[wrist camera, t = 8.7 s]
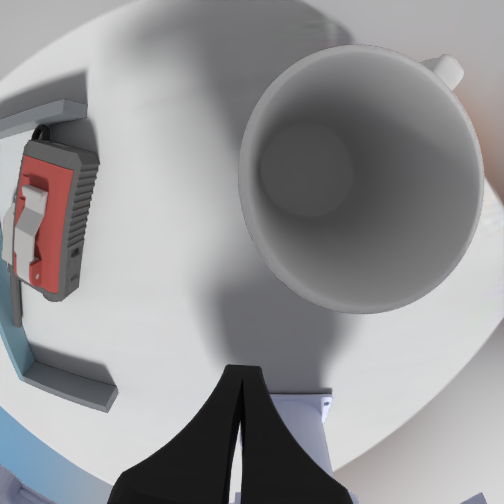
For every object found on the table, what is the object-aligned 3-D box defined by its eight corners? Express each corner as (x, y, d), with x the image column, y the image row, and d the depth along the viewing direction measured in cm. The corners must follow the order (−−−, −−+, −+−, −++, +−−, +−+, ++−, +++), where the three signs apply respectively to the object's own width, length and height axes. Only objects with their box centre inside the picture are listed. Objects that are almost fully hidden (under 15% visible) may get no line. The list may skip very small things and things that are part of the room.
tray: (118, 393, 24) (107, 413, 21) (32, 365, 24) (19, 379, 21) (87, 104, 16) (64, 99, 13) (-6, 131, 16) (-28, 131, 13)
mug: (309, 242, 19) (375, 355, 7) (229, 176, 18) (175, 200, 6) (401, 133, 16) (538, 122, 5) (328, 65, 15) (409, -37, 4)
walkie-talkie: (35, 121, 16) (18, 316, 22) (-1, 119, 12) (-5, 336, 18) (111, 140, 17) (79, 353, 23) (77, 136, 13) (58, 380, 19)
